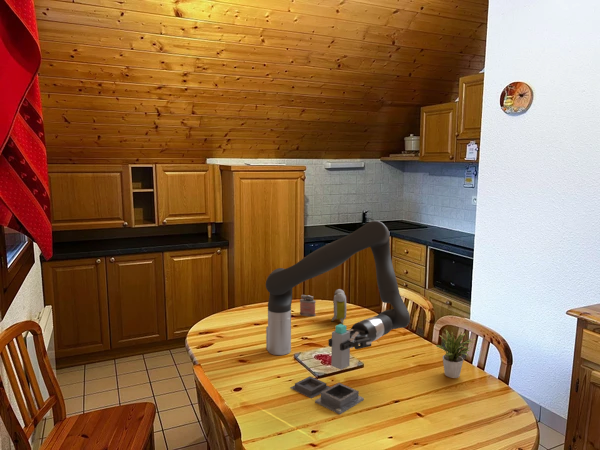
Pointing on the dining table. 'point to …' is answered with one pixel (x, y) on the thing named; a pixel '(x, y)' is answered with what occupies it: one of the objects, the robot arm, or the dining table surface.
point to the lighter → (307, 306)
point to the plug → (339, 357)
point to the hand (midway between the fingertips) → (335, 345)
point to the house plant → (453, 354)
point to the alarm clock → (339, 306)
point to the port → (339, 398)
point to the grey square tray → (310, 387)
